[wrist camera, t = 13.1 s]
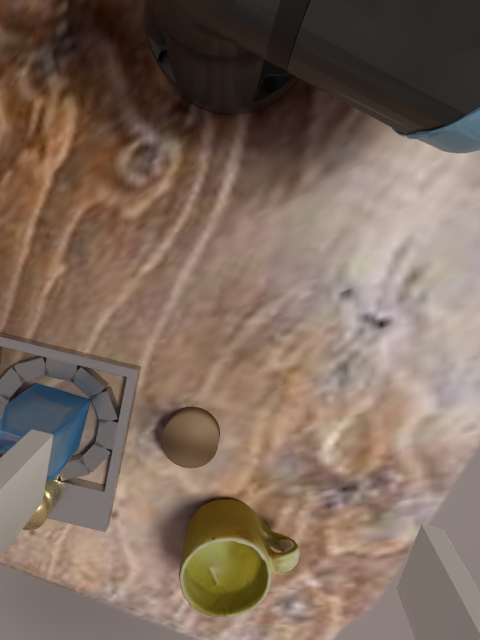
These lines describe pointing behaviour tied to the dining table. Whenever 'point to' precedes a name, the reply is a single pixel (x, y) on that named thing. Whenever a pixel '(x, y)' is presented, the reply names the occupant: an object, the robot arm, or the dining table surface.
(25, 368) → the plate
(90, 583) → the dining table surface
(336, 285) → the dining table surface
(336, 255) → the dining table surface
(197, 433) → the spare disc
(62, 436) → the perfume bottle
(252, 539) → the mug
